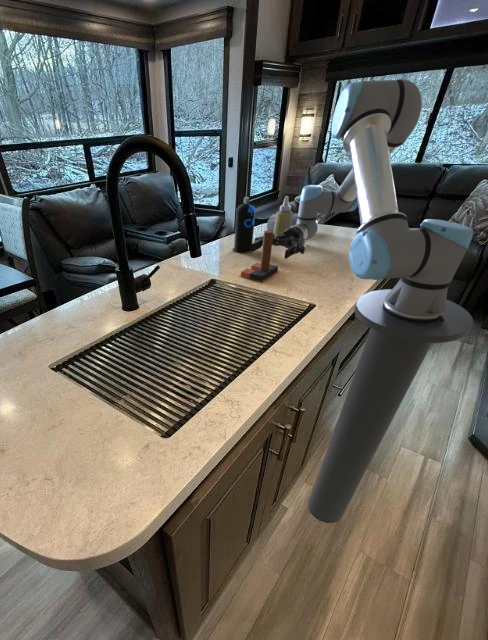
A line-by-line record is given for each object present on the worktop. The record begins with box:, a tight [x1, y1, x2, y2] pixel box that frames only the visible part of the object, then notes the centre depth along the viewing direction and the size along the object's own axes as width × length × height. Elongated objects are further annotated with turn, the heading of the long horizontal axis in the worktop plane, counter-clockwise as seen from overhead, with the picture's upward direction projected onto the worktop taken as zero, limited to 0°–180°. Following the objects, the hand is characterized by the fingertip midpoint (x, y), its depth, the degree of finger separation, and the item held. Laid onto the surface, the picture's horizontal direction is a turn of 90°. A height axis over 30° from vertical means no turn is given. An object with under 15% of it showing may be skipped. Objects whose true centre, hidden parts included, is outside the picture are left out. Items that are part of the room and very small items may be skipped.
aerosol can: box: [233, 196, 257, 254], centre depth 140 cm, size 8×8×20 cm
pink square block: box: [250, 262, 261, 270], centre depth 127 cm, size 4×4×2 cm
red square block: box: [240, 268, 255, 280], centre depth 123 cm, size 4×4×2 cm
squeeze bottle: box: [273, 195, 293, 243], centre depth 148 cm, size 8×8×18 cm
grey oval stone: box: [266, 212, 298, 231], centre depth 162 cm, size 15×8×20 cm
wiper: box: [250, 229, 279, 282], centre depth 118 cm, size 5×12×15 cm, turn 140°
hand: (268, 251), depth 119 cm, fingers open, 13 cm apart
